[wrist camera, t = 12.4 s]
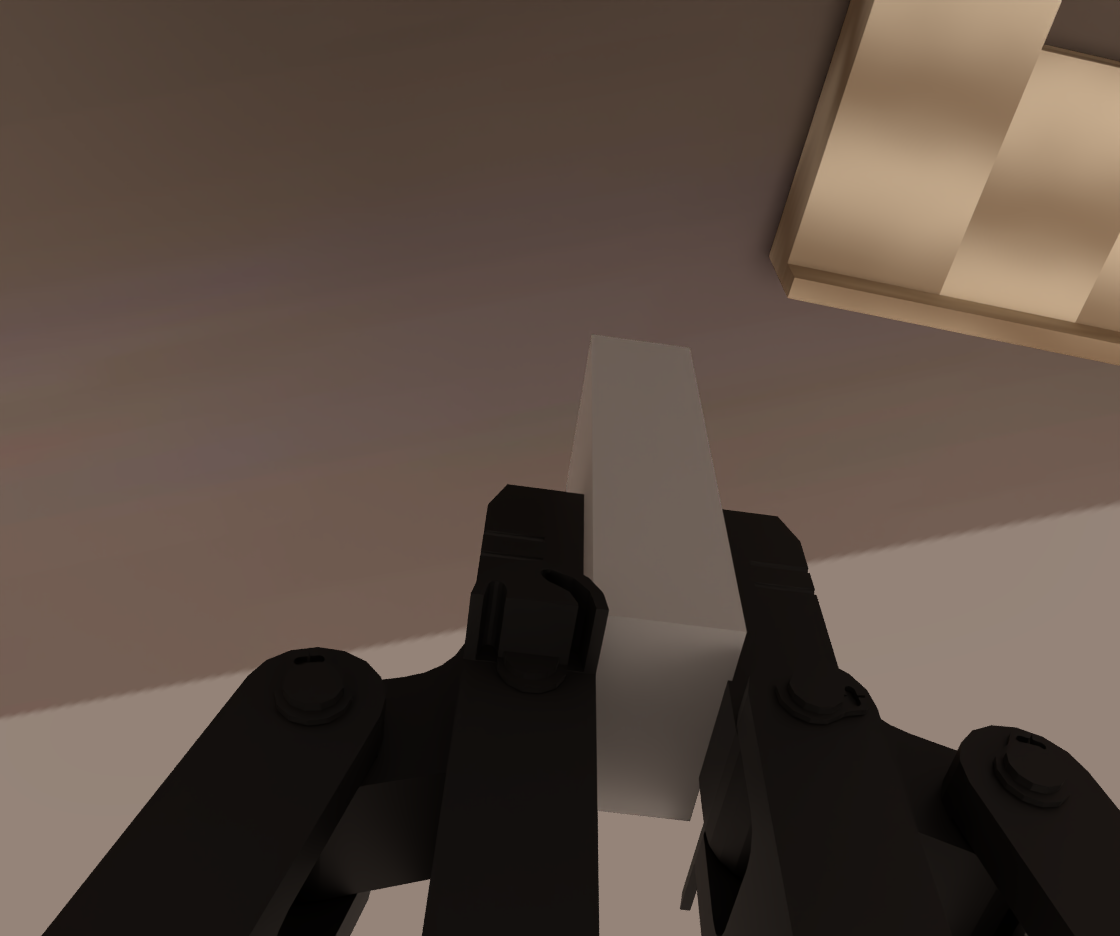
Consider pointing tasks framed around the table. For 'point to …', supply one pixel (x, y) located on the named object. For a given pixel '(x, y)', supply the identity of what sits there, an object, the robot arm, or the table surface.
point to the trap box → (962, 178)
